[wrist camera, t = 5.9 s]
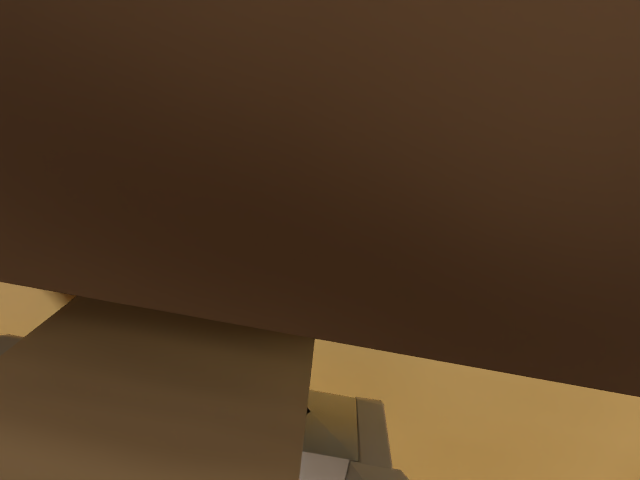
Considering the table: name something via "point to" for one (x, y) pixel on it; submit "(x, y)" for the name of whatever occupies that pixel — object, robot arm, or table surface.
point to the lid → (338, 171)
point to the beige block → (152, 398)
